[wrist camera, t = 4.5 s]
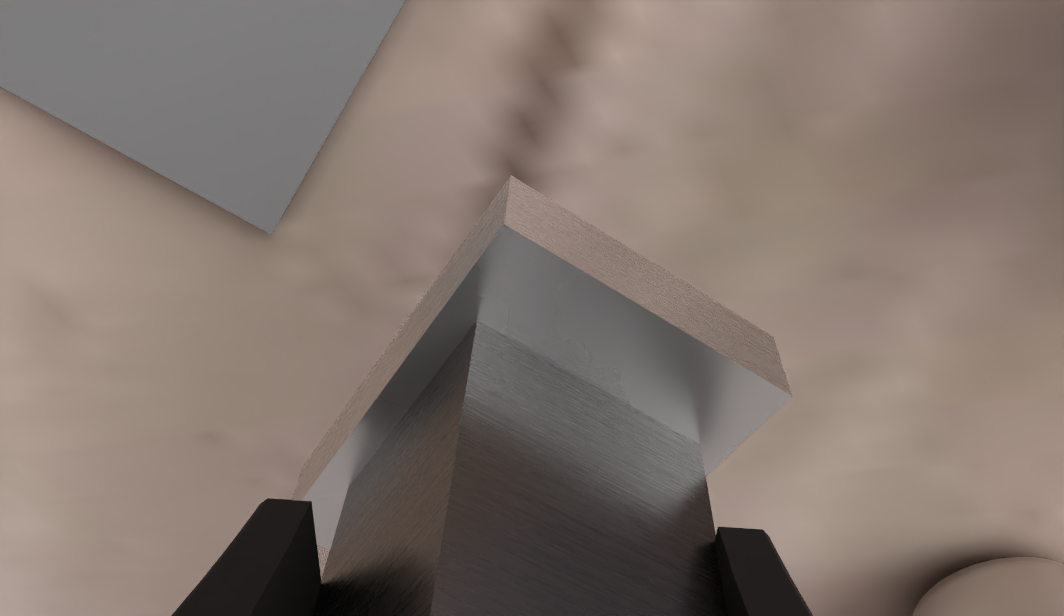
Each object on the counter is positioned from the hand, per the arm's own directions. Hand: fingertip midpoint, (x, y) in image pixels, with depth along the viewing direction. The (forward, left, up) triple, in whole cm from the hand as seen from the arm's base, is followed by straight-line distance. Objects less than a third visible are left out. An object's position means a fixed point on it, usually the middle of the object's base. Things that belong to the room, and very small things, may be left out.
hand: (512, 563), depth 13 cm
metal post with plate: (0, 0, -3) cm, 3 cm away
